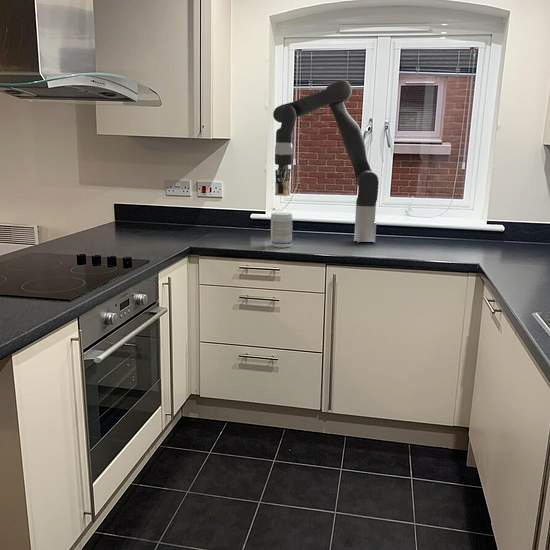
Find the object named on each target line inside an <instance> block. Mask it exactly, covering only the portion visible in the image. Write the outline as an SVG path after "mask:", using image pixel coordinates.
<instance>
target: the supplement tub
mask: <svg viewBox="0 0 550 550" xmlns="http://www.w3.org/2000/svg"><path fill="white" fill-rule="evenodd" d="M292 245H293V213H291V212H272V213H271V215H270V246H271V247H273V248H279V249H280V248H281V249H282V248H283V249H286V248H290V247H292Z"/></svg>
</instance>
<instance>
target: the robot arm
mask: <svg viewBox="0 0 550 550" xmlns="http://www.w3.org/2000/svg"><path fill="white" fill-rule="evenodd" d="M352 92H353V87H352V85H351V84H350V83H349V82H348V81H347V80H343V79H340V80H337V81H334V82H332V83H330V84H329V85H327V86H326V88H325V89H324V90H321V91H319V92H315V93H313V94H309V95H306V96H303V97H301V98H299V99H297V100H294V101H292V102H288V103H287V102H286V103H284V104H281V105H278V106H277V107H275V108H274V110H273V113H272V114H273V115H272V116H273V119H274V120H275V121H276V122H277V123H281V125H280V128H278V129H276V132H275V146H274V164H275V166H276V165H278V166H277V169H275V171H274V173H275V181H276V183H277V184H278V193H279V194H283V184H284V181H290V182H291V171H292V169H291V168H289V166H291V165H293V132H294V130H295V125H296V120H297V118H298V117H303V116H305V115H308V114H310V113H312V112H314V111H316V110H319V109H321V108H323V107H326V106H327V105H328V106H329V107H330V110H331V112H332V114H333V118H335V122H336V125H337V127H338V130H339V133H340V136H341V140H342V142H343V147H344V148H345V151H346V153H347V156H348V158H349V161H350V162H351V165H352V169H353V172H354V177H355V182H356V185H357V190H358V191H357V196H356V197H357V198H356V200H355V201H356V202H355V216H354V221H355V222H354V236H353V241H354V242H355V241H357V242H356V243H359V242H373V243H376V235H377V234H376V233H377V232H376V231H377V222H376V209H377V201H378V196H379V183H380V182H379V177H378V175H377V174H376V173H375V172H374V171H372V169H371V167H370V164H369V161H368V158H367V152H366V143H365V139H364V135H363V133H362V131H361V128H360V125H359V124H358V123H357V121H355V120H354V118H353V117H352V116H351V115H350V114H349V112H348V110H347V109H346V105H345V102H346V101H348V100H349V99H350V97H352V96H351V95H352V94H353V93H352Z"/></svg>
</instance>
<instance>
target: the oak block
mask: <svg viewBox="0 0 550 550" xmlns="http://www.w3.org/2000/svg"><path fill="white" fill-rule="evenodd" d="M274 185H275V186H274V189H275V190H274V192H275V193H274V196H280V197H281V196H283V197H284V196H285V197H288V196H290V194H291V180H290V181H284V184H283V194H279V193H278V184H277V183H276V180H275V183H274Z"/></svg>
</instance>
